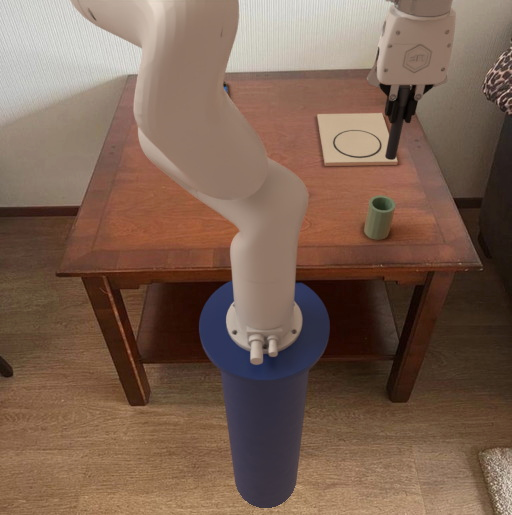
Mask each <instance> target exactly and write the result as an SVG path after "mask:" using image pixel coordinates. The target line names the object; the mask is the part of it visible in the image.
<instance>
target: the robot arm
mask: <svg viewBox="0 0 512 515" xmlns="http://www.w3.org/2000/svg"><path fill="white" fill-rule="evenodd" d="M69 1H70V2H71V4H72V6H73V7H74V8H75V10H76V11H78V13H79V14H80V15H81V16H82V17H83V18H84V19H85V20H87V21H89V22H90V23H91V24H93V25H94V26H96V27H98V28H99V29H101V30H104V31H106V32H108V33H109V34H112V35H114V36H116V37H118V38H120V39H122V40H125V41H126V42H128V43H130V44H132V45H134V46H136V47H138V48H140V49H141V59H140V64H139V69H138V72H137V78H136V83H135V88H134V89H135V90H134V96H133V97H134V98H133V117H134V120H135V123H136V125H137V136H138V141H139V146H140V148H141V150H142V152H143V154H144V155H145V157H146V158H147V159H148V160H149V161H150V162H151V163H152V165H154V166H155V167H156V168H157V169H158V170H160V171H161V172H162V173H164V175H166V176H167V177H169V178H170V179H171V180H172V181H173V182H174V183H176V184H177V185H178V186H179V187H181V188H182V189H183V190H185V191H186V192H187V193H188V194H190V195H191V196H192V197H194V198H195V199H196V200H198V201H199V202H201V203H202V204H204V205H205V206H207V207H209V208H210V209H211V210H212V211H215V212H216V213H217V214H220V215H221V216H222V217H223V218H224V219H226V220H227V221H229V222H230V223H232V224H233V225H234V226H235V227H236V228H237V229H238V232H237V233H236V234H235V235H234V237H233V239H231V240H232V241H231V243H230V249H229V257H230V266H231V281H233V293H234V302H233V303H232V304H231V306H230V308H229V310H228V312H227V316H226V325H227V330H228V333H229V335H230V337H231V339H232V340H233V341H234V342H235V343H236V344H237V345H238V346H240V347H241V348H243V349H245V350H247V351H249V352H250V362H251V363H252V364H254V365H259V364H261V363H263V354H269V356H271V357H276V356H277V355H278V352H279V351H282V350H284V349H286V348H287V347H289V346H291V345H292V344H293V343H294V342H295V341H296V339H297V338H298V336H299V335H300V332H301V329H302V313H301V310H300V308H299V306H298V305H297V304H296V302H295V301H294V295H295V282H296V277H297V259H298V249H299V248H298V247H299V238H300V233H301V230H302V226H303V224H304V220H305V218H306V214H307V210H308V206H309V201H310V197H309V196H310V195H309V191H308V188H307V186H306V184H305V183H304V181H303V180H302V179H301V178H300V177H299V176H298V175H297V174H296V173H295V172H293V171H292V170H290V169H289V168H288V167H286V166H284V165H283V164H281V163H279V162H277V161H276V160H274V159H272V158H270V157H268V152H267V149H266V147H265V144H264V142H263V140H262V138H261V136H260V135H259V134H258V132H257V130H256V129H255V128H254V127H253V126H252V124H250V122H249V121H248V119H247V118H246V117H245V115H244V114H243V113H242V112H241V110H240V108H238V106H236V104H235V102H234V101H233V100H232V99H231V97H230V95H229V93H228V94H227V92H226V91H225V89H224V87H223V81H224V80H225V76H226V71H227V67H228V63H229V60H230V57H231V53H232V51H233V50H232V49H233V47H234V44H235V40H236V37H237V34H238V29H239V22H240V2H239V1H240V0H69ZM384 1H385V2H390V3H392V4H391V5H390V6H389V8H388V11H387V13H386V16H385V18H384V21H383V25H382V28H381V31H380V35H379V38H378V41H377V42H378V43H377V47H376V51H375V55H374V56H375V57H374V62H373V63H374V64H373V66H372V68H370V71H369V72H368V75H367V76H366V81H367V82H366V83H367V84H368V85H369V86H372V87H374V88H377V89H380V90H381V91H382V92H383V94H384V95H385V96H386V102H385V106H384V116H385V117H387V119H388V121H389V124H392V123H395V120H396V115H397V111H398V106H399V100H398V95H397V94H398V89H399V85H410V86H411V89H410V93H409V98H408V103H407V107H406V112H405V117H404V123H406V124H411V122H412V117H413V116H415V115H416V111H417V107H418V103H419V101H420V100H421V99H422V98H423V96H424V95H425V94H427V93H428V92H429V91H430V90H432V89H433V88H434V87H435V88H436V87H439V86H441V85H444V84H446V83H447V82H448V75H447V74H448V70H449V67H450V62H451V56H452V49H453V46H454V38H455V30H456V21H457V19H456V18H457V11H456V10H454V9H453V8H452V5H453V2H454V0H384Z"/></svg>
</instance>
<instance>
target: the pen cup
mask: <svg viewBox="0 0 512 515" xmlns="http://www.w3.org/2000/svg"><path fill="white" fill-rule="evenodd" d="M396 207H397V205H396V201H395V200H394V199H393V198H392V197H389V196H387V195H384V194H383V195H381V194H380V195H379V194H378V195H374V196H372V197H370V198H369V201H368V206H367V210H366V216H365V221H364V227H363V232H364V234H365V235H366V237H368V238H369V239H372V240H376V241H380V240H381V241H382V240H384V239H386V238H388V237H389V235H390V231H391V228H392V223H393V219H394V215H395V211H396Z"/></svg>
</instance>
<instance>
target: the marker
mask: <svg viewBox="0 0 512 515" xmlns="http://www.w3.org/2000/svg"><path fill="white" fill-rule="evenodd" d="M410 90H411V85H399V89H398V94H397V95H398V100H399V106H398V111H397V115H396V120H395V123H390V124H391V125H390V130H389V139H388V144H387V150H386V155H385V157H386V158H387V159H389V160H393V159H395V158H396V157H397V154H398V149H399V145H400V139H401V134H402V130H403V127H404V122H405V120H404V117H405V112H406V107H407V103H408V98H409V93H410Z"/></svg>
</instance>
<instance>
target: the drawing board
mask: <svg viewBox="0 0 512 515" xmlns="http://www.w3.org/2000/svg"><path fill="white" fill-rule="evenodd" d="M316 119H317V124H318V131H319V138H320V144H321V150H322V156H323V162H324V166H325V167H348V166H349V167H352V166H354V167H355V166H356V167H360V166H397V165H398V163H399V162H398V158H397V156H396V158H395V159H393V160H389V159H387V158H386V157H385V155H386V150H387V144H388V139H389V134H390V132H389V130H388V127H387V124H386V121H385V118H384V114H383V112H367V113H365V112H363V113H361V112H359V113H358V112H357V113H317V116H316Z"/></svg>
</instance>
